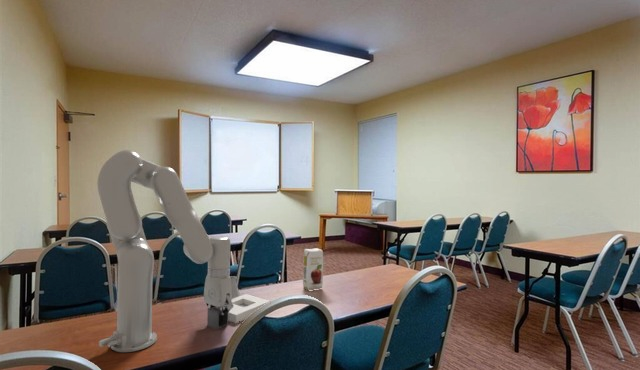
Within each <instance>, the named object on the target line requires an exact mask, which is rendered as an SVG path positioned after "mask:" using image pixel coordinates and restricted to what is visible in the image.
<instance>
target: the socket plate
mask: <svg viewBox="0 0 640 370" xmlns="http://www.w3.org/2000/svg"><path fill="white" fill-rule="evenodd" d="M231 301H232V304H233V306H234V307H233V308H232V309H231V310H230V311H229V313H228V322H232V323H235V324H238V323H240V322H243V321H245V320H247V319H248V318H247V317H248V316H249V315H250V314H251V313H253V312H254V311H255V310H257V309H258V308H260V307H261V306H263V305H264V304H266V303H268V302H270V303H271V300H268V299H265V298H262V297H259V296H254V295H251V294H248V293H245V294H242V295H240V296H239V297H236V298H233V299H232V300H231ZM246 318H247V319H246ZM239 321H240V322H239Z"/></svg>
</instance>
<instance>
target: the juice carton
mask: <svg viewBox="0 0 640 370" xmlns="http://www.w3.org/2000/svg"><path fill="white" fill-rule="evenodd" d="M302 262H303V265H302V285H303V286H302V287H303V289H305V288H306V289H307V291H308V290H314V289H320V288H322V289H323V283H324V282H323V281H324V280H323V279H324V278H323V277H324V250H323V249H320V248H317V247H315V248H304V251H303V261H302ZM306 289H305V290H306Z"/></svg>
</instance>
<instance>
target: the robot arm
mask: <svg viewBox="0 0 640 370" xmlns="http://www.w3.org/2000/svg"><path fill="white" fill-rule="evenodd" d="M96 183H97V191H98V196H99V198H100V199H99V200H100V202H101V207H102V209H103V212H104V216H105V218H106V219H105V220H106V228H107V230H108V232H109V236H110V239H111V241H112V246H113V247H114V251H115V253H116V257H117V270H118V271H117V304H116V305H117V307H116V308H117V309H116V311H117V316H116V324H117V325H116V330H115V331H113V333H112V335H110V337H106V338H103V339H100V340H99V341H98V346H99V347H100V348H102V347H106V346H108V348H110V349H111V350H113V351H114V352H118V353H132V352H137V351H141V350H144V349H146V348H149V347H150V346H152V345H153V344H154V343H156V342H157V340H158V334H157V333H156V331H155V332H154V331H152V330H153V329H152V323H153V322H152V321H153V276H154V267H155V257H154V255H155V254H154V252H153V250H152V247H150V245H149V243H148V241H147V238H146V234H145V232H144V228H143V220H142V217H141V215H140V213H139V211H138V208H137V205H136V201H135V198H134V195H133V191H132V183H134V184H137V185H139V186H142V187H144V188H147V189H150V190H153V193H154V194H155V196H156V198H157V200H158V202H159V204H160V206H161V208H162V210H163V212H164V215H165V216H166V218H167V220H168V222H169V224H170V225H172V227H173V228H174V229H175V231H177V233H178V235H179V236H180V239H181V240H182V242H183V247H182V249H183V253H184V254H185V256H186V257H188V259H190V260H191V261H192V262H194V263H195V264H198V265H203V264H205V263H207V274H206V277H205V281H204V287H203V288H204V289H203V290H204V291H203V302H204V303H205V304H206V308H207V310H208V309H209V308H212V307H215V306H216V307H219V308H220V314H221V315H219V326H220V327H221V326H223V325H226V324H227V314H228V313H229V311H230V310H231V309H232V308H233V307H234V306H233V304H232V301H231V300H232V288H231V279H230V277H231V276H230V275H231V269H230V268H231V239H230V238H229V237H227V236H220V235H219V236H212V237H209V235H208V234H207V231H206V229H205V227H204V225H203V224H202V222H201V220H200V218H199V217H198V215H197V212H196V211H195V208H194V207H193V205H192V203H191V201H190V199H189V196H188V194H187V193H186V190H185V188H184V185H183V183H182V181H181V180H180V177H179V176H178V173H177V172H176V171H175V170H174V169H173V168H171V167H170V166H161V165H158V164H156V163H153V162H151V161H149V160H146V159H144V158H142V157H141V156H140V154H138V153H137V152H136V151H132V150H129V149H127V150H126V149H125V150H124V149H123V150H120V151H118V152H116V153H114V154H113V155H112V156H111V157H109V158H108V160H106V161H105V162H104V164H103V165H102V166H101V168H100V171H99V173H98V177H97V182H96ZM223 307H225V309H224V310H223ZM226 326H227V325H226ZM221 328H222V327H221Z"/></svg>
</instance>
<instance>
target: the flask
mask: <svg viewBox="0 0 640 370" xmlns="http://www.w3.org/2000/svg"><path fill="white" fill-rule="evenodd" d="M230 279H231V288H232V299H233V298H236V297H239V296H241V294H240V291H239V288H238V285H237V279H238V276H235V275H234V276H232V275H231V276H230Z"/></svg>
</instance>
